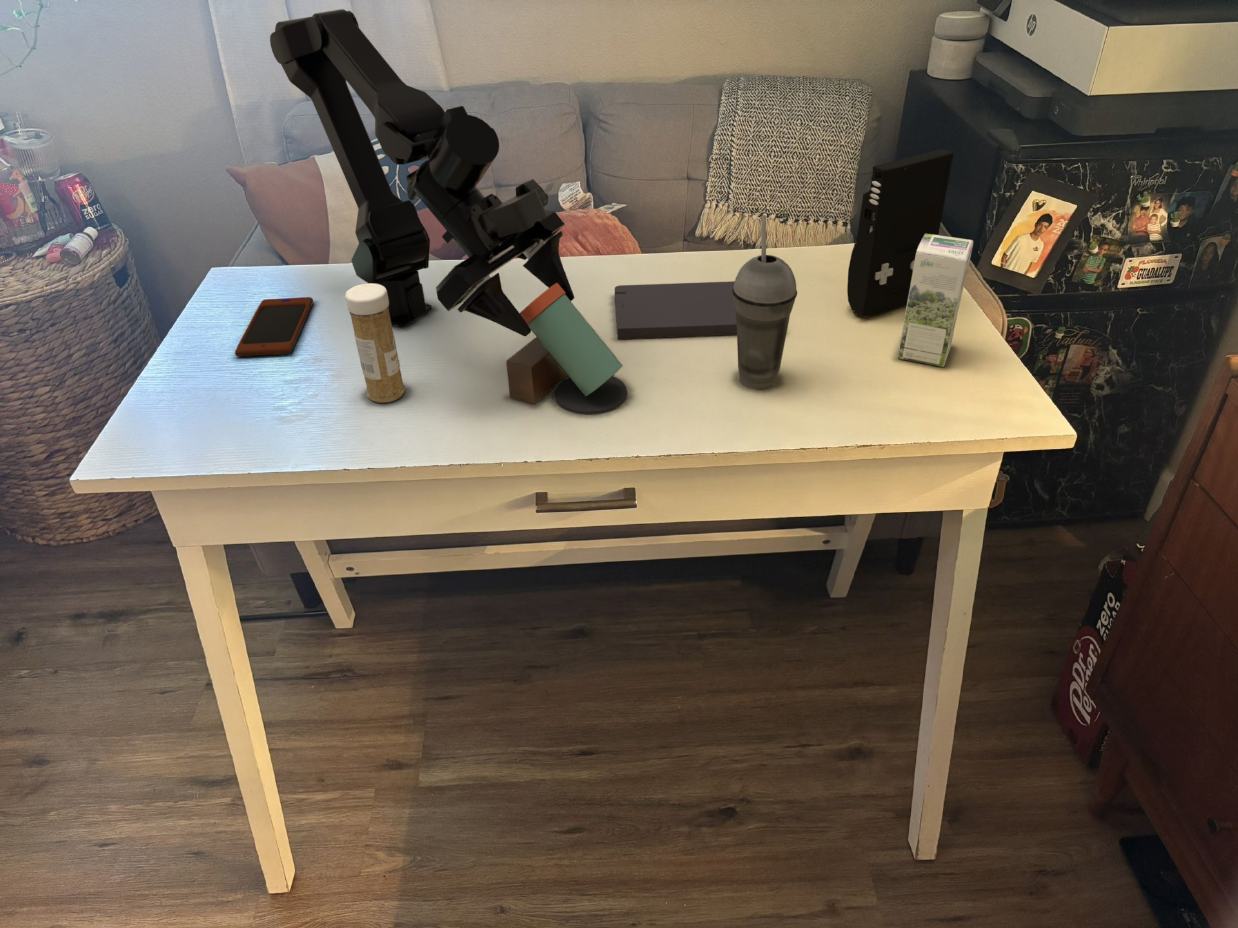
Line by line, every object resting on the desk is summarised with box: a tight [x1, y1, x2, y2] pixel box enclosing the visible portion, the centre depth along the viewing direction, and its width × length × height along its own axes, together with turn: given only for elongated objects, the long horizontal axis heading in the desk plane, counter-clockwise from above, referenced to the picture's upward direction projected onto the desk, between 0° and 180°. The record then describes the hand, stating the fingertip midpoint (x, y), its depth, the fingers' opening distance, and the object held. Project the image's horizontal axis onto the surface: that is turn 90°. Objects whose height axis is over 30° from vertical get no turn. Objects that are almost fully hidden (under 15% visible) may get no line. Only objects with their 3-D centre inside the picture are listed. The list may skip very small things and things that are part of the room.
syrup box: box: [897, 234, 974, 368], centre depth 111 cm, size 6×6×14 cm
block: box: [505, 336, 569, 405], centre depth 111 cm, size 4×10×5 cm, turn 151°
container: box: [519, 283, 623, 396], centre depth 107 cm, size 12×6×12 cm, turn 61°
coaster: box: [553, 375, 628, 415], centre depth 110 cm, size 9×9×1 cm
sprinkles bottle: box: [344, 283, 406, 404], centre depth 107 cm, size 5×5×14 cm
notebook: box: [614, 280, 737, 340], centre depth 125 cm, size 13×2×21 cm
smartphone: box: [234, 296, 314, 357], centre depth 124 cm, size 7×1×15 cm
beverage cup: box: [732, 214, 798, 390], centre depth 106 cm, size 7×7×20 cm
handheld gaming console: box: [846, 148, 955, 318], centre depth 121 cm, size 12×5×20 cm, turn 120°
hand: (550, 316), depth 106 cm, fingers open, 9 cm apart
